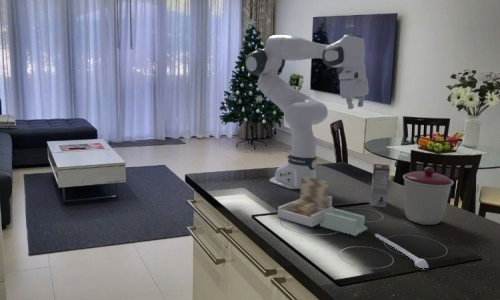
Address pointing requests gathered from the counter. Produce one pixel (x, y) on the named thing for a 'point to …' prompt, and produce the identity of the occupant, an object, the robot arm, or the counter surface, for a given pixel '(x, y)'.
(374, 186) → the coffee box
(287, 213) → the rack
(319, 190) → the birch panel
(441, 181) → the canister
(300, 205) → the offcut stack
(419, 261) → the white ladle
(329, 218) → the holder
